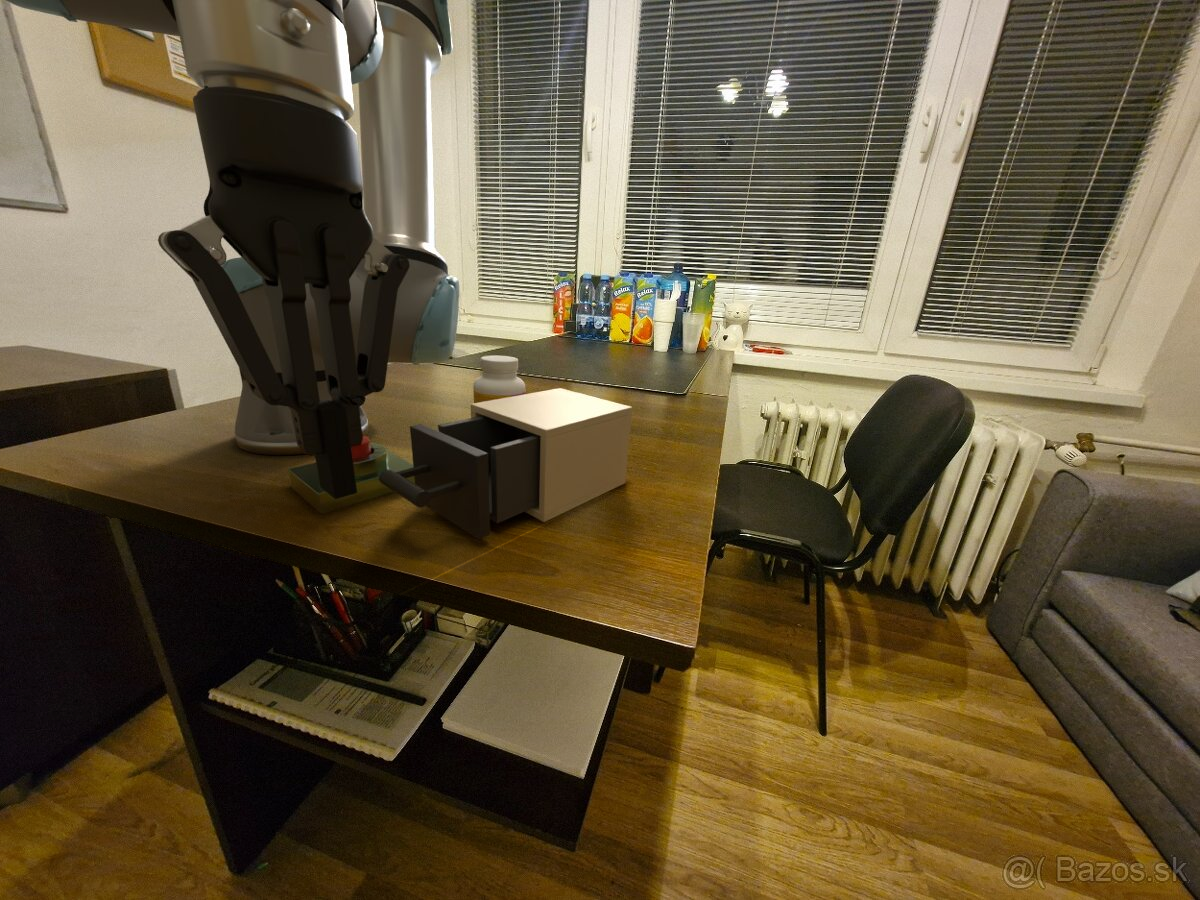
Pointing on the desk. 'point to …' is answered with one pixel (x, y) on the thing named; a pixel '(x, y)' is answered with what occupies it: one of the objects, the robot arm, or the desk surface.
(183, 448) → the desk surface
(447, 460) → the drawer
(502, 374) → the supplement bottle
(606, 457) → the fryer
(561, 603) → the desk surface
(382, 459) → the block
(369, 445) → the button
